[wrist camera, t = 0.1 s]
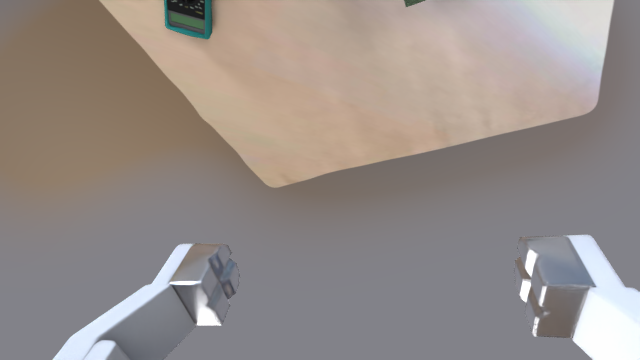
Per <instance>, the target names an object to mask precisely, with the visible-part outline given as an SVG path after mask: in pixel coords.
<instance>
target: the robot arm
mask: <svg viewBox="0 0 640 360" xmlns="http://www.w3.org/2000/svg"><path fill="white" fill-rule="evenodd" d="M517 249H518V252H519V254H520V257H519V258H518V259H517V260H515V268H514V274H515V283H516V288H517V291H518V293H519V297H520V298H521V299H523V300H524V301H525V302H526V307H525V315H526V317H527V320H528V323H529V326H530V329H531V332H532V334H533V336H544V337H562V338H573V341H574V342H575V343H576V344H577V345H578V346H579V347H580V348H582V350H583V351H585V352H586V353H587V354H588V355H589V356H590V357H591V358H592V359H593V360H640V292H639V291H637V290H636V289H634V288H625V286H624V285H623V283H622V281H621V280H620V278H619V277H618V276H617V274H616V272H615V271H614V270H613V268H612V266H611V265H610V263H609V262H608V260H607V259H606V257H605V256H604V254H603V253H602V251H601V249H600V248H599V246H598V245H597V243H596V242H595V240H594V239H593V237H591V236H590V235H568V236H567V235H566V236H540V237H539V236H538V237H520V239H519V241H518V247H517ZM230 255H231V250H230V248H229V246H228V245H226V244H181V245H179V246H177V247H176V249H175V250H174V251H173V253H172V254H171V256H170V257H169V259H168V260H167V262H166V263H165V265H164V266H163V268H162V269H161V271H160V272H159V274H158V275H157V277H156V278H155V280H154V281H153V283H152V284H151V285H146V286H144V287H143V288H141V289H140V290H138V291H137V292H135V293H134V294H132V295H131V296H130V297H128V298H127V299H125V300H124V301H122V302H121V303H120V304H118V305H116V306H115V307H113V308H112V309H111V310H109V311H108V312H106V313H105V314H103V315H102V316H100V317H99V318H98V319H96V320H95V321H93V322H92V323H90V324H89V325H87V326H86V327H84V328H83V329H81V330H80V331H79V332H77V333H76V334H74V335H73V336H71V337H70V338H69V339H68V341H67V342H66V343H65V345H64V346H63V347H62V348H61V350H60V351H59V352H58V354H57V355H56V356H55V358H54V359H53V360H163V359H164V358H165V357H166V356H167V355H168V354H169V353H170V352H171V351H172V350H173V349H174V348H175V347H176V346H177V345H178V344H179V343H180V342H181V341H182V340H183V339H184V338H185V337H186V336H187V335H188V334H189V333H190V332H191V331H192V330H193V329H194V328H195V327H196V325H222V324H223V321H224V319H225V317H226V314H227V312H228V310H229V307H230V304H229V301H228V299H229V298H231V297H232V296H233V295H234V294H235V293H236V291H237V288H238V285H239V277H240V275H239V269H238V266H237V264H236V263H235V262H234V261H233V260H231V259H230V258H229V257H230Z"/></svg>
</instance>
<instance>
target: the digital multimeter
mask: <svg viewBox="0 0 640 360" xmlns="http://www.w3.org/2000/svg"><path fill="white" fill-rule="evenodd" d="M164 7H165V26H166V28H168V29H170V30H173V31H176V32H179V33H182V34H185V35H189V36H193V37H197V38H203V39H209V38H210V36H211V34H212V12H211V0H164Z"/></svg>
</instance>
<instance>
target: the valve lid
mask: <svg viewBox="0 0 640 360" xmlns="http://www.w3.org/2000/svg"><path fill="white" fill-rule="evenodd" d="M404 1H405V5H406V7H408V6H411V5H414V4H417V3H419V2H422V1H425V0H404Z"/></svg>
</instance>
